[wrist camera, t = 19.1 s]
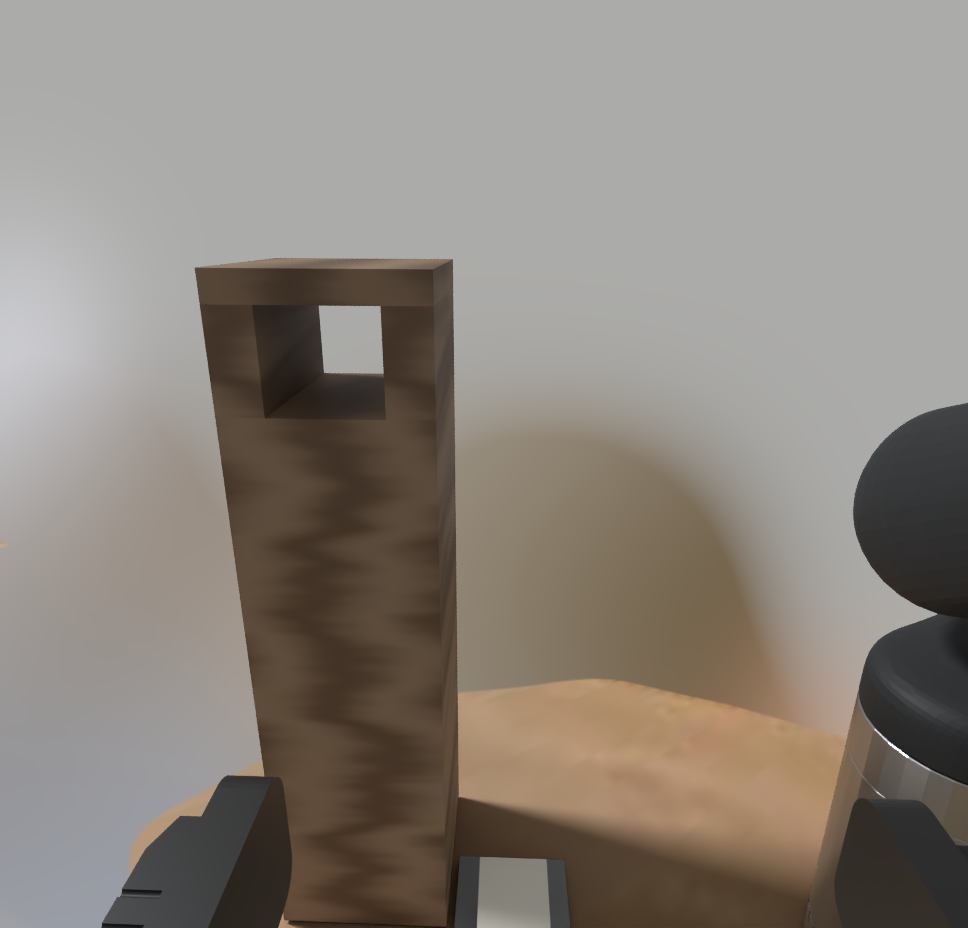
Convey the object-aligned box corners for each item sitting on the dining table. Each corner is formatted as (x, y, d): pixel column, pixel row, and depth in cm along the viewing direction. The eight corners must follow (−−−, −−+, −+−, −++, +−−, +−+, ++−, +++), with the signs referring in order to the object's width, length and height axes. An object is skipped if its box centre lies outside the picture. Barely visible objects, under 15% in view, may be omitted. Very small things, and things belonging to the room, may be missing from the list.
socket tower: (458, 793, 49) (452, 259, 37) (446, 926, 40) (432, 269, 27) (327, 789, 50) (275, 258, 37) (284, 920, 40) (194, 267, 27)
